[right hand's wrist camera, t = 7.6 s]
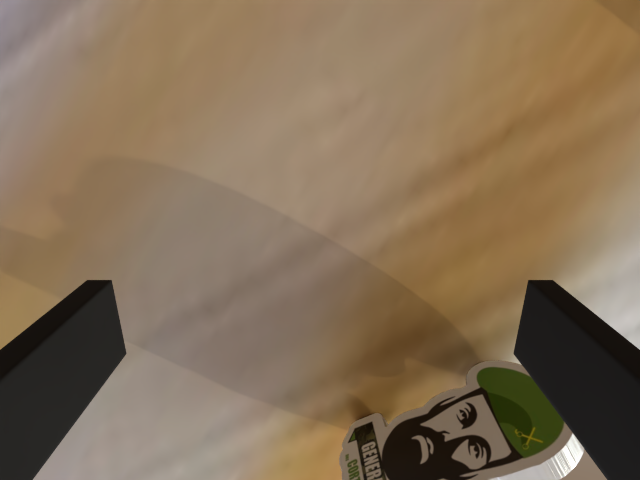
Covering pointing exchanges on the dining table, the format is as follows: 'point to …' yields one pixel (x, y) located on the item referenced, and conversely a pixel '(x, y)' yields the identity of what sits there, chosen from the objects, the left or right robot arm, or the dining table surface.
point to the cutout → (467, 434)
